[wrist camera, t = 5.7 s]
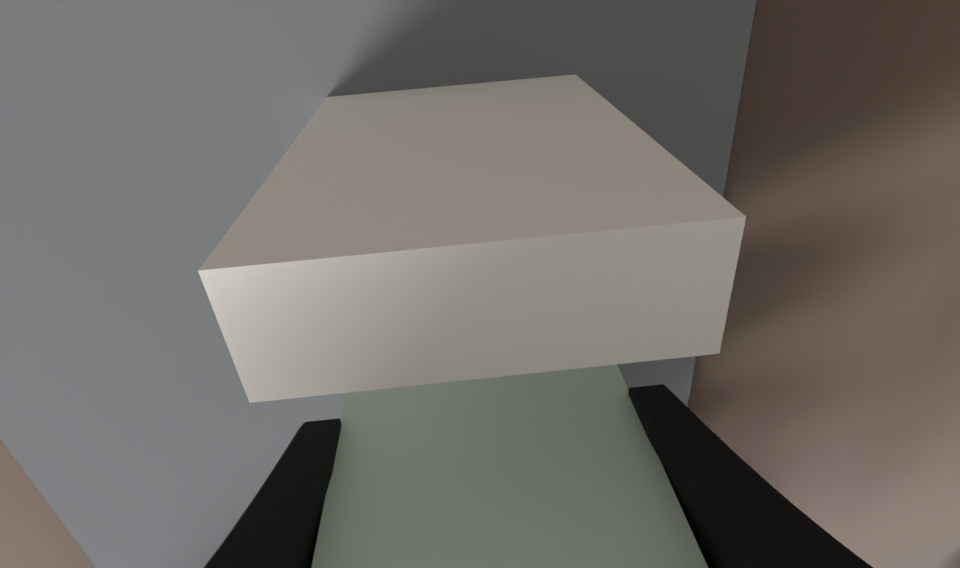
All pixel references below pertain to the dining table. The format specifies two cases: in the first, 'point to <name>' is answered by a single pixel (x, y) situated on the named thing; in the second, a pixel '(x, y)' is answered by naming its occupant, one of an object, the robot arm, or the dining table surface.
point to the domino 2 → (501, 478)
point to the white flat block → (469, 244)
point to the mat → (221, 198)
